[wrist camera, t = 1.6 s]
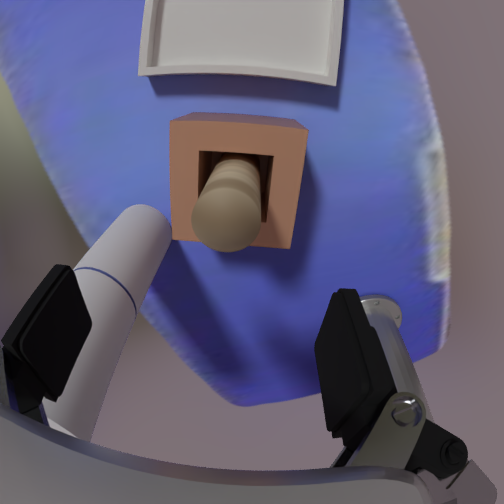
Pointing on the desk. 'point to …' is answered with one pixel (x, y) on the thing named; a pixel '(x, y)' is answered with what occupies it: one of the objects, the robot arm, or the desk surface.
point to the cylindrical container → (109, 311)
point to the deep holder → (241, 141)
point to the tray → (243, 38)
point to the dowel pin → (230, 204)
